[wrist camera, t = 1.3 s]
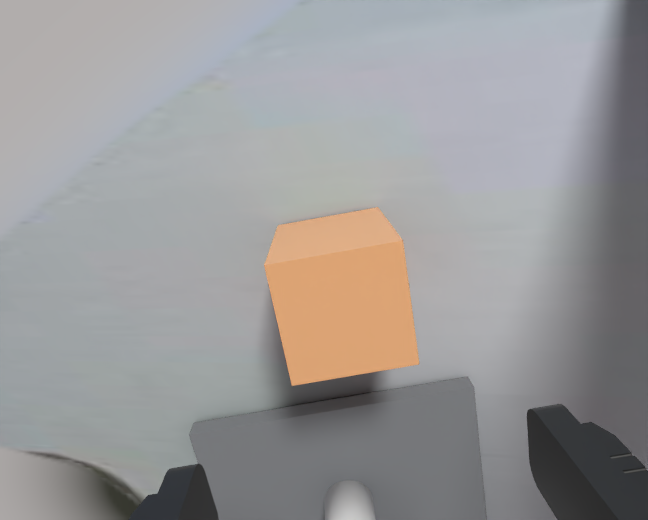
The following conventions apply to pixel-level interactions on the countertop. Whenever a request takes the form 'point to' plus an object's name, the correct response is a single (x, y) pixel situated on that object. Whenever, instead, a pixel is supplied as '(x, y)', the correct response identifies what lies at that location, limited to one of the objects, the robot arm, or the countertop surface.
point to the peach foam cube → (341, 296)
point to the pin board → (350, 458)
